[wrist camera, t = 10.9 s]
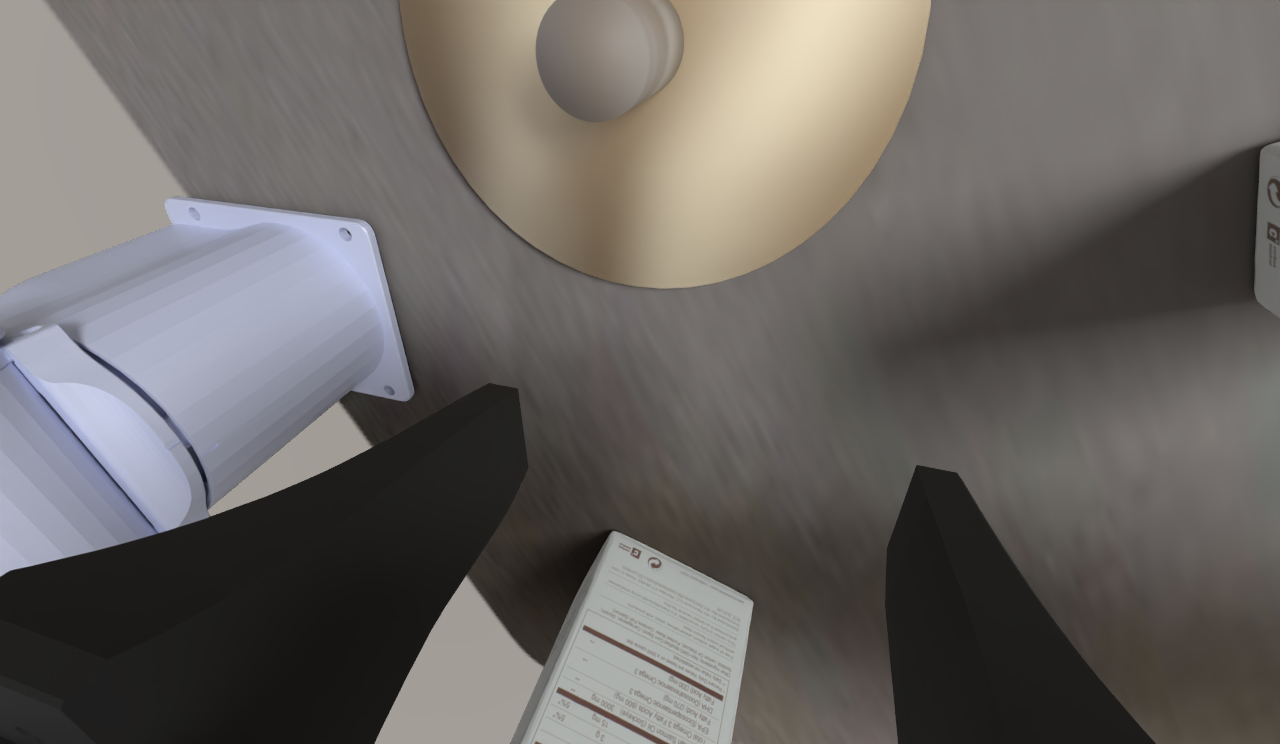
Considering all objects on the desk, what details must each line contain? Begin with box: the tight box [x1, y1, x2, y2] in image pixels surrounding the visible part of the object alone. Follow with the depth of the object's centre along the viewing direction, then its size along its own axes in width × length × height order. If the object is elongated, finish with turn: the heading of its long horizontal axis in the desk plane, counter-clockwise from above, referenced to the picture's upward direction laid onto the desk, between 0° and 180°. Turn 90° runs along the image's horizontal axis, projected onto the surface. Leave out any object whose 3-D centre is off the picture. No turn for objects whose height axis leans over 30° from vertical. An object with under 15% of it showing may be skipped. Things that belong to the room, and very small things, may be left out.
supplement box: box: [510, 531, 753, 744], centre depth 24 cm, size 7×7×13 cm
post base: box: [399, 0, 931, 289], centre depth 15 cm, size 14×14×4 cm
